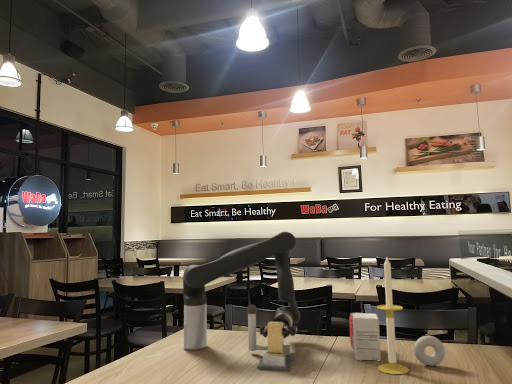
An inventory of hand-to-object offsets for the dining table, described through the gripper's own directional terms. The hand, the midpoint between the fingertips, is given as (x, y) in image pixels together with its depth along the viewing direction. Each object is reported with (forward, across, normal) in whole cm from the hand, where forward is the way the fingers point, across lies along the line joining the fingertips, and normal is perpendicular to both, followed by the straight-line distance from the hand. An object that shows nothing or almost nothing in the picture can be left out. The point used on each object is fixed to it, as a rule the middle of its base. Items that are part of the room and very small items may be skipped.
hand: (274, 334), depth 137 cm
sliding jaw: (-12, -5, +9) cm, 16 cm away
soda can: (-27, +29, +11) cm, 41 cm away
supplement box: (-15, +32, +11) cm, 37 cm away
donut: (-9, +52, +11) cm, 54 cm away
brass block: (-2, 0, +10) cm, 10 cm away
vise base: (-4, 0, +11) cm, 11 cm away
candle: (-3, +39, +11) cm, 41 cm away
